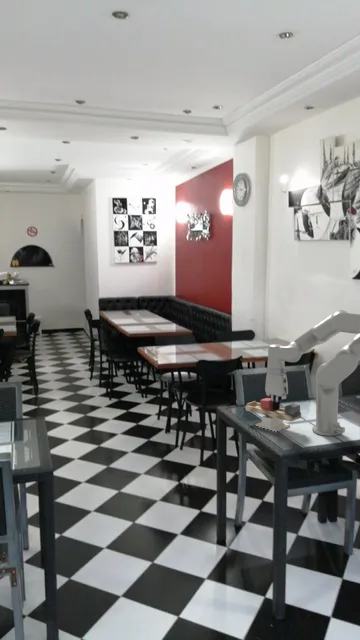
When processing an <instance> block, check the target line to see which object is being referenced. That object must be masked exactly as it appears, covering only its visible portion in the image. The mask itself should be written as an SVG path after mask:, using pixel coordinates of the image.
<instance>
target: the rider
mask: <svg viewBox="0 0 360 640" xmlns="http://www.w3.org/2000/svg"><path fill="white" fill-rule="evenodd" d="M259 403H260V405H261V409H265V410H269V411H272V410H273V401H272V400H271V398H268V397H265V398H262V399H260V400H259Z"/></svg>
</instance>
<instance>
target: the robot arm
mask: <svg viewBox="0 0 360 640" xmlns="http://www.w3.org/2000/svg"><path fill="white" fill-rule="evenodd" d="M339 333H347V334H355V336H354V337H353V338H352V339H351V340H350V341H349V342H347V344H346V345H344V346H343V347H342V348H341V349H339V350H338V351H337V352H336V353H335V356H334V358H332V359H331V360H330V361H329V362H324V363H322V364H320V365H319V366H318V368H317V369H316V373H315V374H316V376H315V381H316V395H315V396H316V398H315V399H316V400H315V401H316V402H315V425H314V426H312V429H311V430H312V432H313V433H314V434H316V435H320V436H325V437H327V436H328V437H331V436H332V437H333V436H338V435H340V434H341V433H343V434H345V432H346V427H345V426H341V424H340V423H341V422H339V421H338V420H339V413H338V412H339V384H341V383H342V382H343V381H344V380H345V379H347V378H348V377H349V376H350V375H351V374H352V373H354V371H355V370H356V369H357V368H358V364H359V362H360V314H357V313H351V312H350V313H349V312H348V311H346V310H343V309H339V310H336V311H334V312H333V313H331V314H330V315H328V316H327V317H326V318H325V319H323V320H322V321H319V322H318V323H317V324H316V325H314V326H313V327H311V328H310V329H309V330H307V331H306V332H305V333H303V334H302V335H300V336H299V337H298V338H296V339H294V340H293V341H291V342H290V343H289V344H288V345H287V346H284V345H283V344H279V343H273V344H269V345H268V348H267V373H266V376H265V386H264V388H265V389H264V390H265V395H266V396H267V397H268V396H270V398H271V400H272V401H273V410H278V409H279V408H281V402H280V401H283V400H286V399H287V395H288V394H289V385H288V384H289V383H288V378H287V374H286V373H287V372H288V371H287V369H285V368H286V367H285V365H286V364H285V362H288V363H297V362H298V361H299V360H300V359H301V357H302V355H304V354H305V353H307V352H308V351H310V350H311V349H313V348H315V347H317V346H319V345H323V344H325V343H326V342H327V341H330V339H332V338H333V337H335V336H336V335H338V334H339Z"/></svg>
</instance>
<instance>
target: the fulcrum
mask: <svg viewBox="0 0 360 640" xmlns="http://www.w3.org/2000/svg"><path fill="white" fill-rule="evenodd" d="M254 425H256V426H259V427H258V428H260V427H262V428H261V429H263V428H265V429H264V430H267V429H269V430H268V431H270V430H272V431H271V432H274V431H275V432H274V433H278V432H280V431H282V429H283V430H284V429H287V428H289V427H291V424H290V423H286V422H284V420H282V419H278V418H274V417H270V416H269V417H266V415H262V416H261V422H257V423H255V424H254ZM256 426H255V427H256ZM277 431H278V432H277Z"/></svg>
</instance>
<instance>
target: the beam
mask: <svg viewBox="0 0 360 640" xmlns="http://www.w3.org/2000/svg"><path fill="white" fill-rule="evenodd" d="M245 411H247V412H251V413H254V414H258V415H262V416H265V415H266V417H269V416H270V417H274V418H278V419H282V420H283V421H287V422H289V423H290V422H291V423H292V422H293V421H296V420H299V419H301V418H302V412H301V404H298V403H294V402H293V403H289V404H287V405H285V406H284V408H283V407H280V408H279V409H278V410H272V411H269V410H265V409H261V405H260V402H257V401H256V400H253V401H251V402H247V403H246V405H245Z"/></svg>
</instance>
